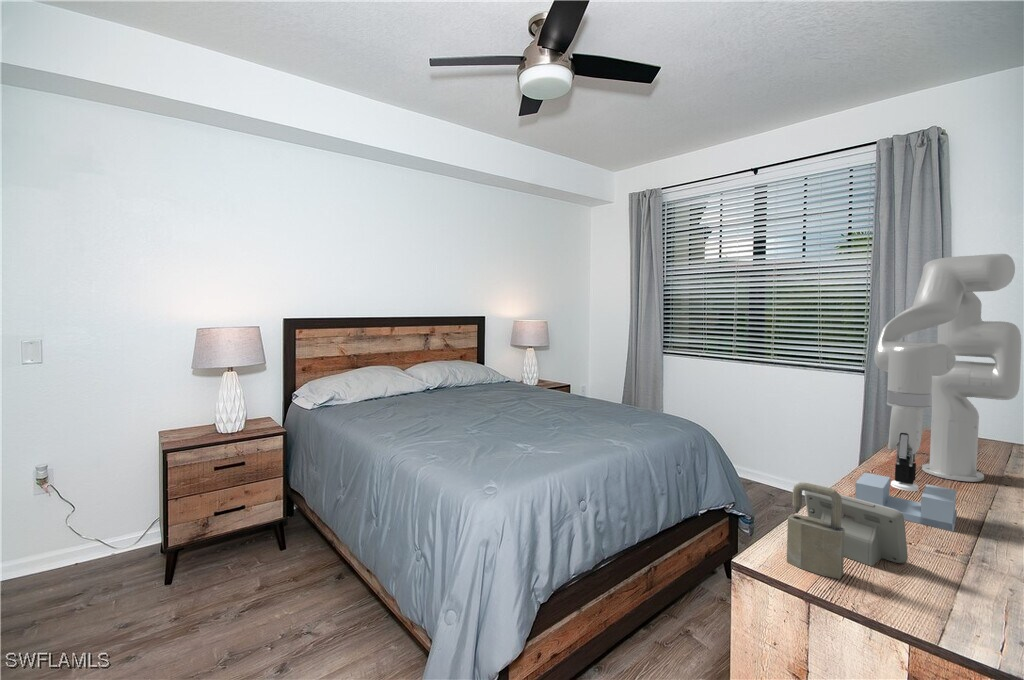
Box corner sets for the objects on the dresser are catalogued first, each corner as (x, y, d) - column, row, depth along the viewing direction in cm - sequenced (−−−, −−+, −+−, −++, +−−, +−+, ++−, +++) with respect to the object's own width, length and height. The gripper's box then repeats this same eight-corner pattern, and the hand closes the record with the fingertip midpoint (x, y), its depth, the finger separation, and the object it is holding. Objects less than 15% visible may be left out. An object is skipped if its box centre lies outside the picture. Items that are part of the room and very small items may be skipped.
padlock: (791, 555, 89) (794, 476, 88) (844, 572, 83) (847, 488, 82) (785, 563, 86) (787, 482, 85) (838, 581, 80) (841, 494, 79)
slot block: (862, 496, 117) (863, 472, 117) (956, 516, 105) (957, 490, 105) (853, 507, 110) (854, 482, 110) (953, 531, 98) (955, 503, 98)
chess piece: (920, 492, 104) (922, 447, 103) (892, 488, 106) (893, 444, 106) (916, 485, 108) (918, 442, 107) (889, 481, 111) (890, 439, 110)
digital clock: (914, 566, 85) (916, 507, 84) (884, 577, 81) (886, 517, 81) (822, 528, 100) (824, 479, 99) (794, 537, 96) (795, 485, 96)
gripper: (892, 393, 114) (889, 468, 115) (881, 402, 103) (877, 485, 104) (934, 397, 109) (930, 476, 110) (926, 407, 98) (923, 495, 99)
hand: (905, 480), depth 107 cm, fingers closed on chess piece
